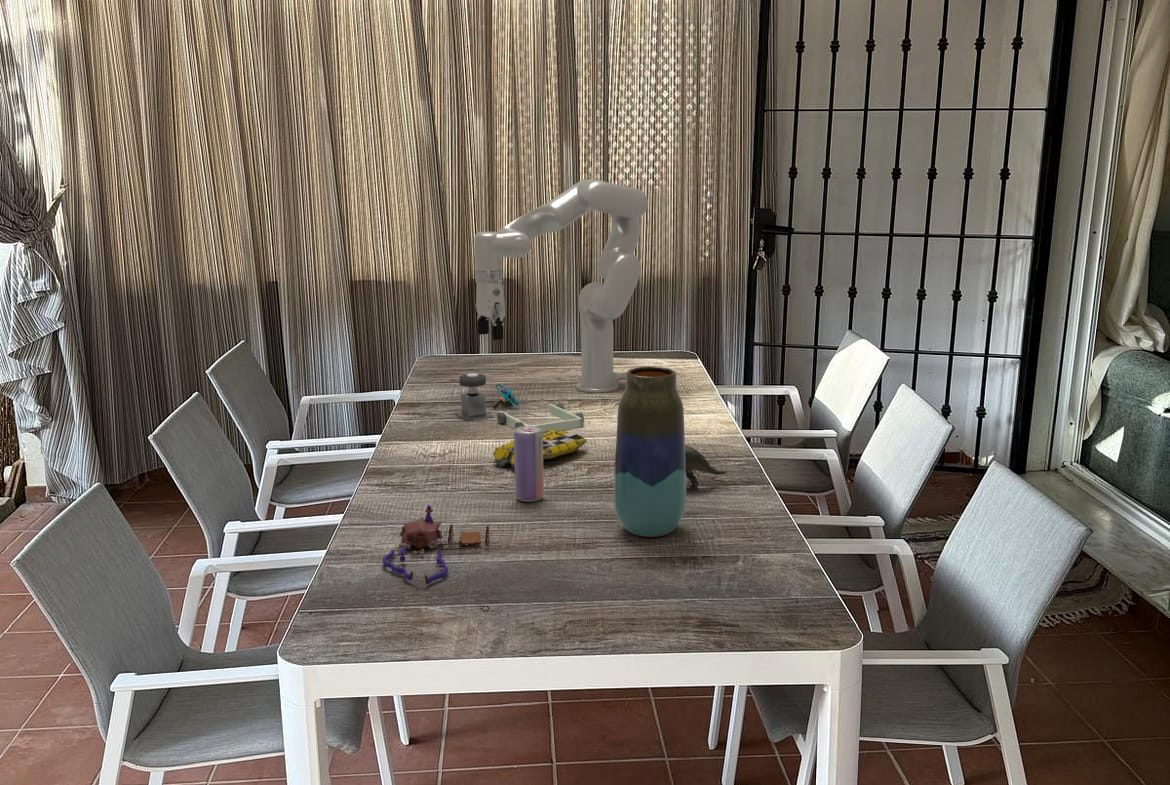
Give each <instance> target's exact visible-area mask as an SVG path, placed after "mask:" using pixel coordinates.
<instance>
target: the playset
mask: <svg viewBox="0 0 1170 785" xmlns="http://www.w3.org/2000/svg"><path fill="white" fill-rule="evenodd" d="M433 510H434V508H432V506H431V504H427V507H426V509H425V513H426V515H425V517H424V518H423V517H422V516H421V518H419V519H418V520H414V521H411V522H408V523H403V526H401V531H400V533H399V537H401V539H400V540H401V542H400V543H399V544H398V548H396V549H394V548H392V549H390V552H388V554H386V555H385V556H384V557H382V565H383V567H386V568H389V569H391V571H393V572H395V573H398V574H403V577H404V579H405V580H408V581H412V582H414V584H415V585H420V583H424V582H425V585H429V584H431V583H432V582H434V581H436V580H439V579H442V578H444V577H446V576H447V575H448V572H449V567H448V566H446V561H445V560H444V558H443V551H449V550H459V551H462V550H475V551H477V550H479V549H482V546H478V545H481V544H482V541H480V539H481V538H480V536H481V535H480V532H479V531H476V532H473V531H472V532H465V531H464V532H461V533H460V537H459V542H453V532H454V524H452V523H451V524H450V525H449V528H448V537H447V543H444V542H441V543H439V541H438V540H443V538H444V536H443V535H442V532H441V530H440V529H439V528H440V526H441V525H442V521H439V522H434V520H433V517H432V516H431V513H433V512H434V511H433ZM485 529H486V530H485V539H484V543H485V547H486V548H489V543H490V539H489V538H490V526H489V525H488V524H487V525H486V527H485ZM463 545H465V546H468V545H475V546H473V547H470V546H469V547H463ZM438 546H440V548H438ZM444 546H459V547H453V548H452V547H449V548H448V547H446V548H444ZM412 547H415V548H416V549H420V550H418V551H416V550H413V551H412V554H419V553H420V555H424V554H425V549H424V548H426V547H428V548H430V549H435V548H438V550H436V554H437V556H436V558H435V562H436V563H437V565H435V568H437V571H438V572H437V573H435V574H432V575H430V576H428V575H427V574H425V575H424V579H420V580H418V579H417V578H414V572H413V570H410V572H409V573H407V570H406V568H405V567H404V566H402V564H397V566H396V565H395V563H393V562H389V560H390V559H392V558H393V557H394V556H395V552H398V551H399V552H398V554H397V556H399V561H400V562H406V556H404V555H408V552H407V549H408V550H409V549H411V548H412ZM400 555H401V556H400Z"/></svg>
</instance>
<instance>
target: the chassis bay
mask: <svg viewBox="0 0 1170 785" xmlns="http://www.w3.org/2000/svg"><path fill="white" fill-rule="evenodd" d="M547 406H548V408H547V409H548V411H547V412H548V413H549V414H551V415H552V416H555V417H557V418H560V419H562V420H558V421H550V422H546V423H545V422H544V423H537V424H533V425H532V424H531V425H530V424H528V423H526V422H524V421H522V420H520V419H518V418H516V417H514V416H512V415H510V414H509V413H507V412H505V411H503V410H499V411H497V415H496V418H497V423H498V424H499V425H503V424H504V425H506V426H509V427H510V428H512V429H514V430H515V429H516V428H517V427H520V426H538V427H540V428H541V429H542V432H546V431H563V430H564V431H567V430H573V429H574V430H575V429H580V428H584V422H585V418H584V415H583V413H581V412H578V413H575V414H574V413H572V412H570V411H568V410H565V406H564V404H562V403H560V404H556V405H555V404H553V403H548V405H547Z"/></svg>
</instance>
